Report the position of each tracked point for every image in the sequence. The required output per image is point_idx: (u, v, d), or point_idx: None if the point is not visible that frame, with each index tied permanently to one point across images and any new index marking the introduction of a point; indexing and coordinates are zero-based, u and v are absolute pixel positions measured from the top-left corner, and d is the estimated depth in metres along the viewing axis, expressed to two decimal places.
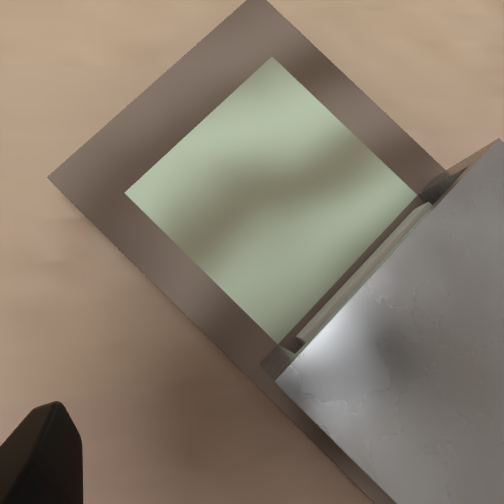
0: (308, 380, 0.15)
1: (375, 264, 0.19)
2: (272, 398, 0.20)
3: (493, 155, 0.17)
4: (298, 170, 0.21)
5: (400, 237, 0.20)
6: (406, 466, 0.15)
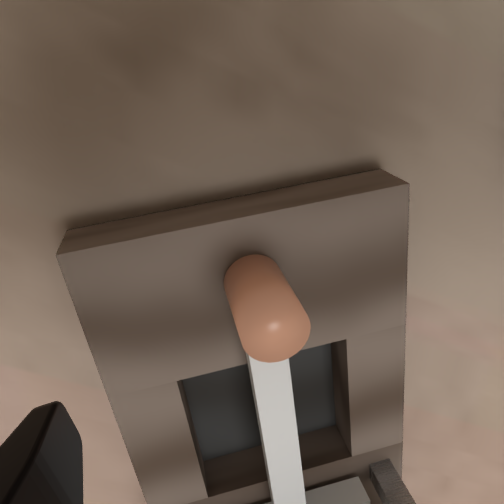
0: None
1: None
2: None
3: None
4: None
5: None
6: None
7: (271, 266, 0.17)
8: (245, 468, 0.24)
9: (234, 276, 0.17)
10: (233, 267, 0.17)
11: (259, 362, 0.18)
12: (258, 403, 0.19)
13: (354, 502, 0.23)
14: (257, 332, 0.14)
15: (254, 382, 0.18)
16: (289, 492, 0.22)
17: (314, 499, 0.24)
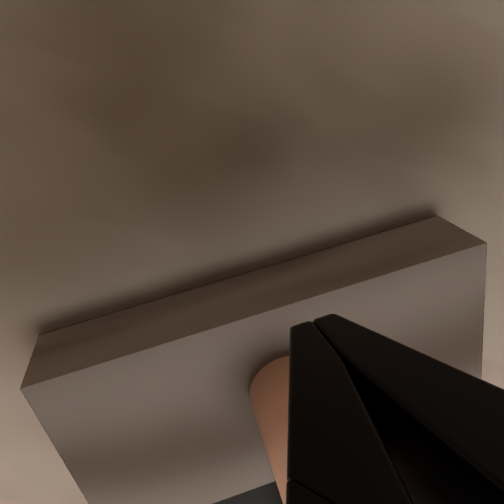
0: None
1: None
2: None
3: None
4: None
5: None
6: None
7: None
8: None
9: (264, 394, 0.12)
10: (261, 377, 0.13)
11: None
12: None
13: None
14: None
15: None
16: None
17: None
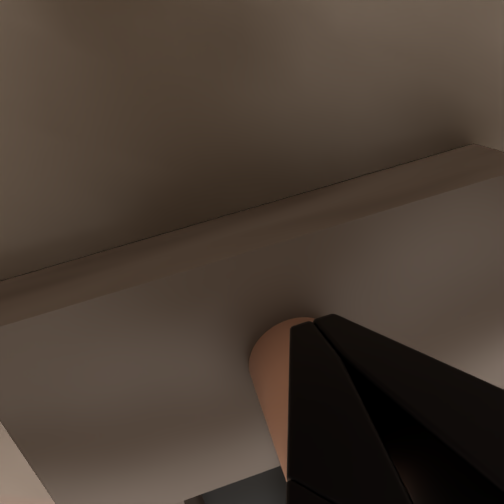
0: None
1: None
2: None
3: None
4: None
5: None
6: None
7: None
8: None
9: (267, 364, 0.10)
10: (263, 344, 0.10)
11: None
12: None
13: None
14: None
15: None
16: None
17: None
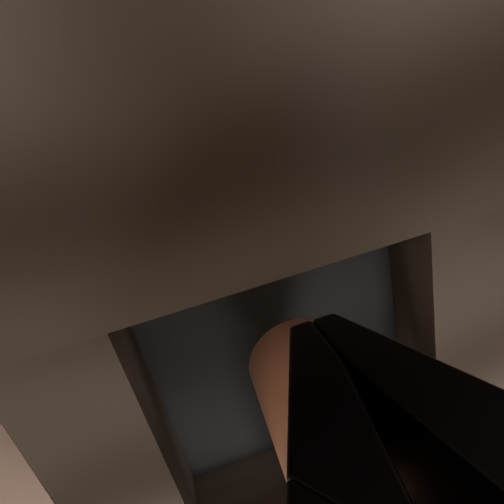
0: None
1: None
2: None
3: None
4: None
5: None
6: None
7: None
8: (262, 485, 0.15)
9: (267, 364, 0.10)
10: (263, 345, 0.10)
11: None
12: None
13: None
14: None
15: None
16: None
17: None
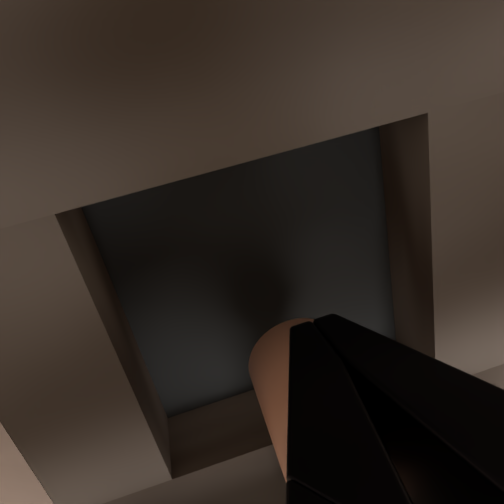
0: None
1: None
2: None
3: None
4: None
5: None
6: None
7: None
8: (241, 423, 0.13)
9: (267, 364, 0.10)
10: (263, 345, 0.10)
11: None
12: None
13: None
14: None
15: None
16: None
17: None
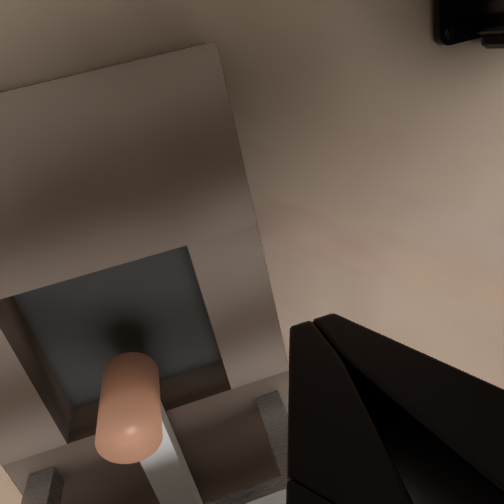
0: None
1: None
2: None
3: None
4: None
5: None
6: None
7: (138, 366, 0.18)
8: None
9: (104, 378, 0.18)
10: (106, 367, 0.19)
11: None
12: (150, 481, 0.20)
13: None
14: (110, 441, 0.16)
15: (142, 465, 0.20)
16: None
17: None
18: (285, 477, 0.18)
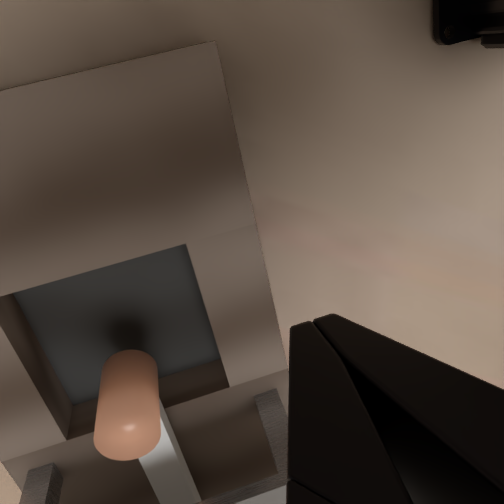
0: None
1: None
2: None
3: None
4: None
5: None
6: None
7: (137, 363, 0.18)
8: None
9: (103, 375, 0.18)
10: (106, 364, 0.19)
11: None
12: (149, 478, 0.21)
13: None
14: (109, 438, 0.16)
15: (141, 462, 0.20)
16: None
17: None
18: (283, 475, 0.18)
